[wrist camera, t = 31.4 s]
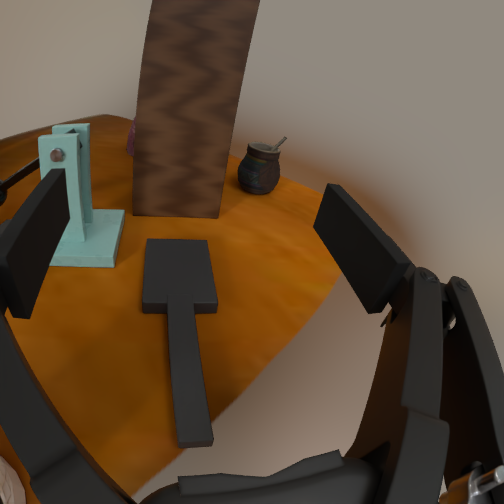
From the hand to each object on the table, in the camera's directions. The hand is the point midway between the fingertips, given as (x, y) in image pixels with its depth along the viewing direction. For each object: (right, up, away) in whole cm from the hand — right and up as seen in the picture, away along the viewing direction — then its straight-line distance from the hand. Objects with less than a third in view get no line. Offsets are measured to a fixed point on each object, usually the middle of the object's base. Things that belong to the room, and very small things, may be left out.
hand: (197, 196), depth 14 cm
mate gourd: (+3, +8, +39) cm, 41 cm away
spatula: (-4, -9, +12) cm, 16 cm away
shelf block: (-9, +6, +32) cm, 34 cm away
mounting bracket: (-19, -1, +19) cm, 27 cm away
